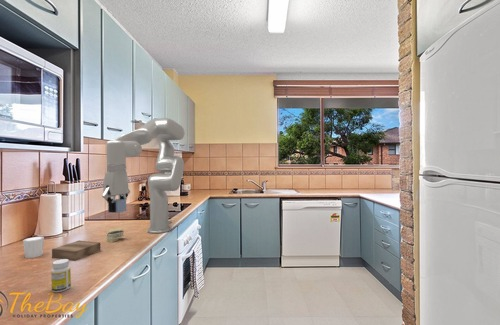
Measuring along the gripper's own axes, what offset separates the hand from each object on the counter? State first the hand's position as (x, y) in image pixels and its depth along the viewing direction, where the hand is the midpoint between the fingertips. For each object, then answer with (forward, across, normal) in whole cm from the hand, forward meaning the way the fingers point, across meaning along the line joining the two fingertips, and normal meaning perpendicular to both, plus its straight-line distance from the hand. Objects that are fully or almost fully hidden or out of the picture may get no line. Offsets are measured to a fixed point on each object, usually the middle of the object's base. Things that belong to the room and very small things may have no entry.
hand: (117, 210), depth 117 cm
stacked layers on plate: (+18, -11, -12) cm, 24 cm away
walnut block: (+18, +10, -12) cm, 23 cm away
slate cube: (+1, 0, 0) cm, 1 cm away
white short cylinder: (+17, +16, -28) cm, 36 cm away
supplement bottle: (+17, +35, +11) cm, 40 cm away
